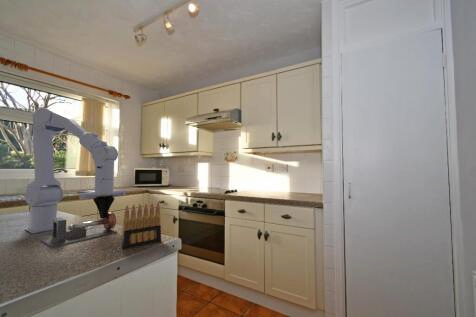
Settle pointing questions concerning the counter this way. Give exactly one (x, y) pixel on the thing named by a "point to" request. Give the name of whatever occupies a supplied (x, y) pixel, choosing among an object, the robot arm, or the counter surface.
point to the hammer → (97, 223)
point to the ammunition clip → (135, 229)
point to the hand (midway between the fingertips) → (103, 218)
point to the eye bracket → (72, 234)
